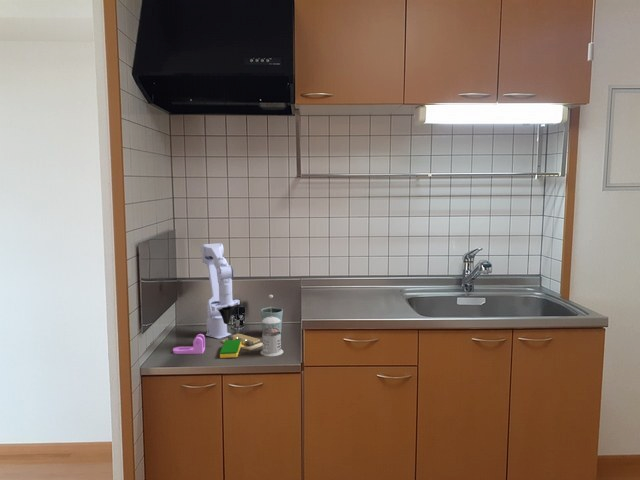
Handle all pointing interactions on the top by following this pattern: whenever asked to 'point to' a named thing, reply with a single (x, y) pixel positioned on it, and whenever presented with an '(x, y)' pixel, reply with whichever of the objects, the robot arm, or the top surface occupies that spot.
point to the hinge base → (246, 343)
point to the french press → (271, 337)
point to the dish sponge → (230, 348)
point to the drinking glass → (272, 313)
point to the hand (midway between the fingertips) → (226, 323)
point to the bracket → (195, 349)
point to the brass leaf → (245, 338)
